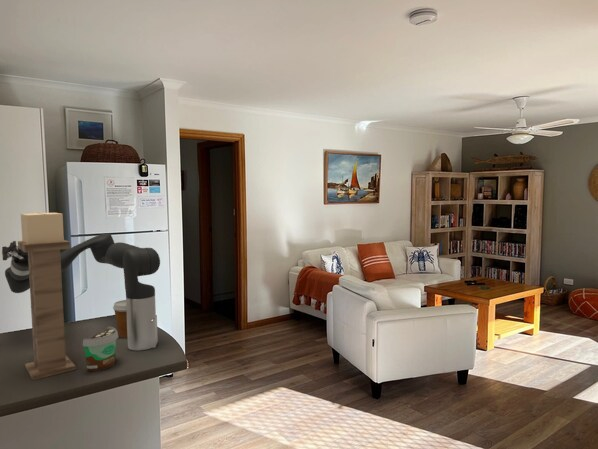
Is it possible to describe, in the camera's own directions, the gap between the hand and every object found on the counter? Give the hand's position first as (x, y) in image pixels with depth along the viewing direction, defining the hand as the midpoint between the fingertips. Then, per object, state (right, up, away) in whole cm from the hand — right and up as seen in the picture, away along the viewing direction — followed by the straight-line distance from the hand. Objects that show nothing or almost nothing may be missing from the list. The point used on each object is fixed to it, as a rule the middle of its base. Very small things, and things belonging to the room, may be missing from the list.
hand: (30, 242), depth 144 cm
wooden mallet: (+9, +1, -11) cm, 14 cm away
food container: (+30, -37, -11) cm, 49 cm away
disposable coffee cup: (+25, -35, +17) cm, 46 cm away
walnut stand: (+14, -37, -13) cm, 41 cm away
